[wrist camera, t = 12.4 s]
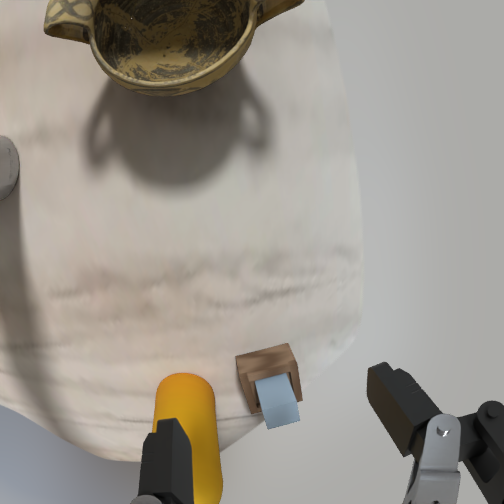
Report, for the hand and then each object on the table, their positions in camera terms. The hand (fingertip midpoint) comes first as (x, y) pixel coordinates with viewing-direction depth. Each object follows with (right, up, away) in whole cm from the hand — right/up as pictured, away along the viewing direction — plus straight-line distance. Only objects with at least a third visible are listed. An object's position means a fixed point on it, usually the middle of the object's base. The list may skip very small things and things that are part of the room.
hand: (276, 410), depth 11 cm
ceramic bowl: (-10, +31, +18) cm, 37 cm away
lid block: (+2, -13, +30) cm, 33 cm away
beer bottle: (-12, -16, +34) cm, 39 cm away
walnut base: (+1, -12, +34) cm, 36 cm away
